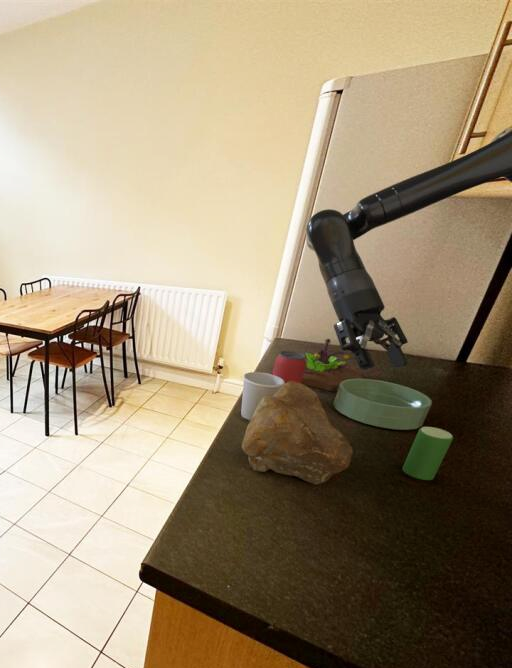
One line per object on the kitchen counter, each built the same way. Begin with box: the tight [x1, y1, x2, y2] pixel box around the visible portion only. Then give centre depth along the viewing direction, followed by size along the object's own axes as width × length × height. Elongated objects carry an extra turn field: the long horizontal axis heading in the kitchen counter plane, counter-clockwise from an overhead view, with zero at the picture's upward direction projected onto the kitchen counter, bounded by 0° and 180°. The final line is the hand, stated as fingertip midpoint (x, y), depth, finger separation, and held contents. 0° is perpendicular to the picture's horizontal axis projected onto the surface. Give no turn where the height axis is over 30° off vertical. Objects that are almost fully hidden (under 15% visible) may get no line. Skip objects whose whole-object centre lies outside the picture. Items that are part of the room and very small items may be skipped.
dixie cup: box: [240, 371, 285, 421], centre depth 98 cm, size 8×8×10 cm
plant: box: [301, 338, 363, 393], centre depth 118 cm, size 20×20×11 cm
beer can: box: [271, 350, 307, 387], centre depth 107 cm, size 7×7×12 cm
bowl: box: [333, 378, 433, 431], centre depth 98 cm, size 16×16×6 cm
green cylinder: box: [401, 426, 454, 481], centre depth 76 cm, size 4×4×9 cm
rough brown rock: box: [241, 381, 354, 485], centre depth 79 cm, size 23×17×15 cm
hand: (384, 367), depth 83 cm, fingers open, 8 cm apart
